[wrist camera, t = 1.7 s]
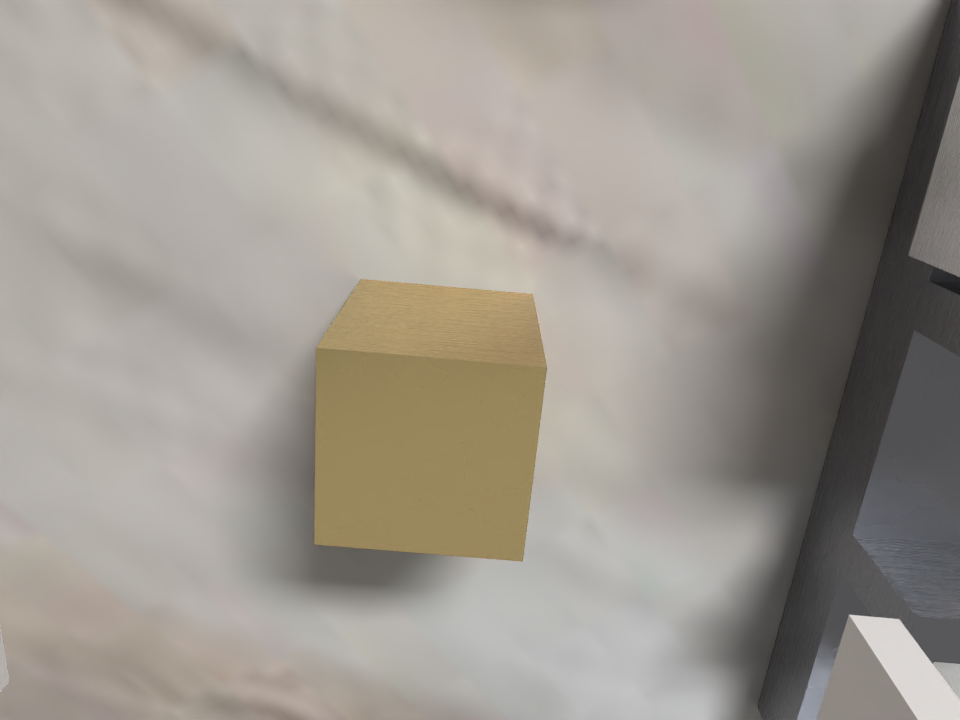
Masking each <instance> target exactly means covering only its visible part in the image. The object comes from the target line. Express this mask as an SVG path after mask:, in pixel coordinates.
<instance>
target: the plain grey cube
mask: <svg viewBox="0 0 960 720" xmlns="http://www.w3.org/2000/svg"><path fill="white" fill-rule="evenodd" d="M908 256H911V257H913V258H915V259H918V260H920V261H923V262H925V263H927V264H930V265H932V266H934V267H937V268H939V269H942V270H944V271H946V272H949V273H951V274H954V275H956V276H958V277H960V77H959V81H958V84H957V88H956V91H955V95H954V98H953V102H952V105H951V109H950V112H949V115H948V119H947V122H946V126H945V129H944V133H943V136H942V140H941V143H940V147H939V150H938V154H937V157H936V161H935V164H934V168H933V171H932V175H931V178H930V182H929V185H928V189H927V192H926V196H925V199H924V203H923V206H922V209H921V213H920V216H919V220H918V223H917V227H916V230H915V234H914V237H913V241H912V244H911V248H910V251H909V255H908Z"/></svg>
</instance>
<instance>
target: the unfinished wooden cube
mask: <svg viewBox="0 0 960 720" xmlns="http://www.w3.org/2000/svg"><path fill="white" fill-rule="evenodd" d="M546 371H547V365H546V360H545V355H544V349H543V344H542V339H541V334H540V329H539V324H538V318H537V313H536V308H535V303H534V298H533V294H526V293H514V292H503V291H491V290H480V289H468V288H457V287H445V286H434V285H422V284H411V283H399V282H388V281H376V280H365V279H361V280H360V281H359V283H358V284H357V286H356V288H355V289H354V291H353V292H352V294H351V295H350V297H349V298H348V300H347V301H346V303H345V304H344V306H343V307H342V309H341V310H340V312H339V314H338V315H337V317H336V318H335V320H334V321H333V323H332V324H331V326H330V327H329V329H328V330H327V332H326V333H325V335H324V336H323V338H322V340H321V341H320V343H319V344H318V346H317V347H316V411H315V510H314V545H326V546H339V547H351V548H363V549H376V550H388V551H400V552H413V553H425V554H438V555H450V556H462V557H475V558H487V559H500V560H512V561H523V555H524V547H525V539H526V531H527V523H528V515H529V507H530V499H531V491H532V483H533V475H534V467H535V459H536V451H537V443H538V435H539V427H540V419H541V411H542V403H543V395H544V387H545V379H546Z"/></svg>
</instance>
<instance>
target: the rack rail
mask: <svg viewBox="0 0 960 720" xmlns="http://www.w3.org/2000/svg"><path fill="white" fill-rule="evenodd" d="M959 77H960V0H952V3H951V7H950V10H949V14H948V17H947V21H946V25H945V28H944V32H943V36H942V39H941V43H940V47H939V50H938V54H937V57H936V61H935V65H934V68H933V72H932V76H931V79H930V83H929V87H928V90H927V94H926V97H925V101H924V105H923V108H922V112H921V116H920V119H919V123H918V127H917V130H916V134H915V137H914V141H913V145H912V148H911V152H910V156H909V159H908V163H907V167H906V170H905V174H904V177H903V181H902V185H901V188H900V192H899V196H898V199H897V203H896V207H895V210H894V214H893V218H892V221H891V225H890V228H889V232H888V236H887V239H886V243H885V247H884V250H883V254H882V258H881V261H880V265H879V268H878V272H877V276H876V279H875V283H874V287H873V290H872V294H871V298H870V301H869V305H868V308H867V312H866V316H865V319H864V323H863V327H862V330H861V334H860V338H859V341H858V345H857V348H856V352H855V356H854V359H853V363H852V367H851V370H850V374H849V378H848V381H847V385H846V388H845V392H844V396H843V399H842V403H841V407H840V410H839V414H838V418H837V421H836V425H835V428H834V432H833V436H832V439H831V443H830V447H829V450H828V454H827V458H826V461H825V465H824V468H823V472H822V476H821V479H820V483H819V487H818V490H817V494H816V498H815V501H814V505H813V509H812V512H811V516H810V519H809V523H808V527H807V530H806V534H805V538H804V541H803V545H802V549H801V552H800V556H799V559H798V563H797V567H796V570H795V574H794V578H793V581H792V585H791V589H790V592H789V596H788V599H787V603H786V607H785V610H784V614H783V618H782V621H781V625H780V629H779V632H778V636H777V639H776V643H775V647H774V650H773V654H772V658H771V661H770V665H769V669H768V672H767V676H766V679H765V683H764V687H763V690H762V694H761V698H760V701H759V705H758V709H759V711H760V714H761V716H762V719H763V720H817V717H818V714H819V711H820V707H821V704H822V701H823V698H824V694H825V691H826V688H827V685H828V681H829V678H830V675H831V672H832V668H833V665H834V662H835V659H836V655H837V652H838V649H839V646H840V642H841V639H842V636H843V633H844V629H845V626H846V623H847V620H848V616H849V615H858V616H870V617H881V618H892V619H900V621H901V622H902V624H903V625H904V626H905V628H906V629H907V630H908V632H909V633H910V634H911V636H912V637H913V638H914V640H915V641H916V642H917V644H918V645H919V646H920V648H921V649H922V650H923V652H924V653H925V654H926V656H927V657H928V658H929V660H930V661H931V663H932V664H933V662H945V663H957V664H960V277H958V276H956V275H954V274H951V273H949V272H946V271H944V270H942V269H939V268H937V267H934V266H932V265H930V264H927V263H925V262H923V261H920V260H918V259H915V258H913V257H911V256H908V255H909V251H910V248H911V244H912V241H913V237H914V234H915V230H916V227H917V223H918V220H919V216H920V213H921V209H922V206H923V203H924V199H925V196H926V192H927V189H928V185H929V182H930V178H931V175H932V171H933V168H934V164H935V161H936V157H937V154H938V150H939V147H940V143H941V140H942V136H943V133H944V129H945V126H946V122H947V119H948V115H949V112H950V109H951V105H952V102H953V98H954V95H955V91H956V88H957V84H958V81H959Z"/></svg>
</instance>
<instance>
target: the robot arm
mask: <svg viewBox="0 0 960 720" xmlns="http://www.w3.org/2000/svg"><path fill="white" fill-rule="evenodd" d="M9 681H10V680H9V674H8V668H7V662H6V656H5V650H4V644H3V637H2V631H1V625H0V692H1V691H2V690H3V689H4V687H5V686H6V685H7V684H8V683H9ZM817 720H960V700H959V699H958V697H957V696H956V695H955V693H954V692H953V691H952V689H951V688H950V687H949V685H948V684H947V683H946V681H945V680H944V679H943V677H942V676H941V675H940V673H939V672H938V671H937V669H936V668H935V667H934V665H933V664H932V663H931V661H930V660H929V658H928V657H927V656H926V654H925V653H924V652H923V650H922V649H921V648H920V646H919V645H918V644H917V642H916V641H915V640H914V638H913V637H912V636H911V634H910V633H909V632H908V630H907V629H906V628H905V626H904V625H903V624H902V622H901V621H900V619H892V618H881V617H870V616H858V615H849V616H848V620H847V623H846V626H845V629H844V633H843V636H842V639H841V642H840V646H839V649H838V652H837V655H836V659H835V662H834V665H833V668H832V672H831V675H830V678H829V681H828V685H827V688H826V691H825V694H824V698H823V701H822V704H821V707H820V711H819V714H818V717H817Z"/></svg>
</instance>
